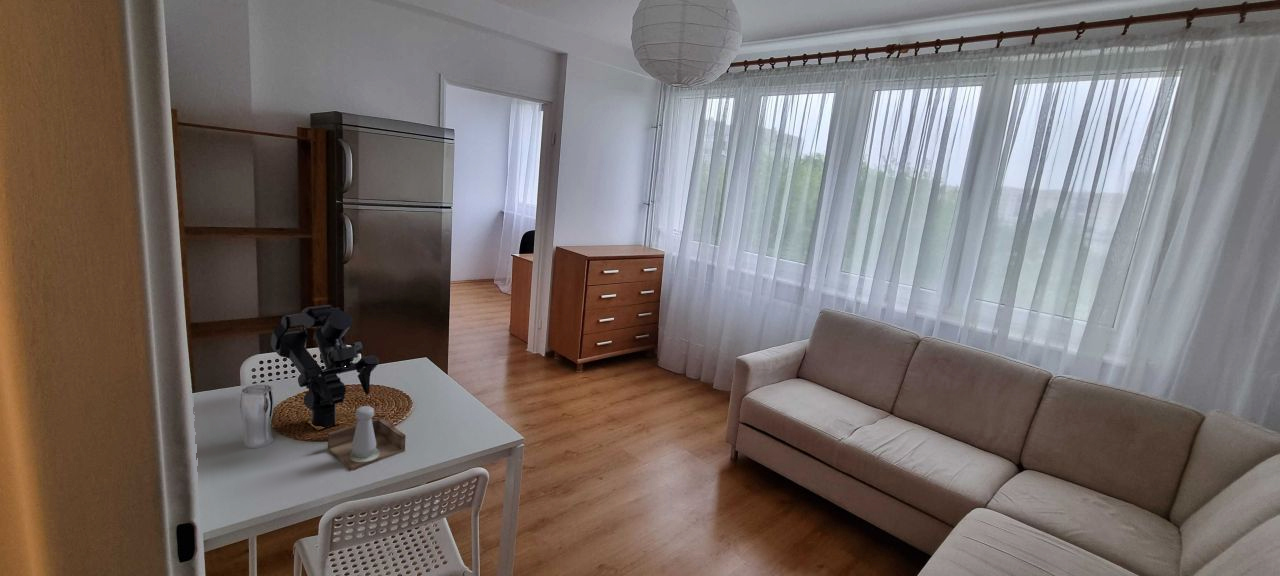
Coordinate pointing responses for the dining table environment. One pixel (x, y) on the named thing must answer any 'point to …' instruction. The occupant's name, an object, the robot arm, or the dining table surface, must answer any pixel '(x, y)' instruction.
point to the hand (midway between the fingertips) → (350, 398)
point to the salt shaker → (364, 433)
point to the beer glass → (257, 414)
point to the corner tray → (386, 444)
